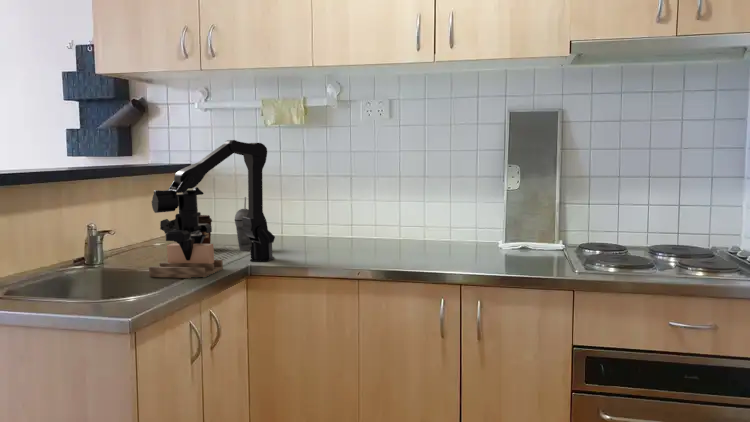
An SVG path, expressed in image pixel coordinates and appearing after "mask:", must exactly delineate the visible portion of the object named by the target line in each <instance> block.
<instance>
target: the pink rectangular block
mask: <svg viewBox="0 0 750 422" xmlns="http://www.w3.org/2000/svg"><path fill="white" fill-rule="evenodd" d="M166 252H167V263H202V264H212V263H214V260H215V250H214V243H211V244H194V245H193V249H192V254H191V258H190V260H186V258H185V256H184V253H183V251H182V249H181V247H180V245H179V244H178V243H177V242H173V243H170V244H167V245H166Z"/></svg>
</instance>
